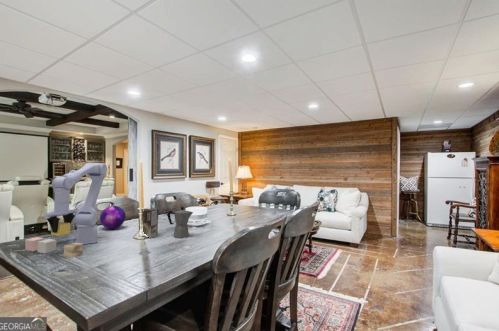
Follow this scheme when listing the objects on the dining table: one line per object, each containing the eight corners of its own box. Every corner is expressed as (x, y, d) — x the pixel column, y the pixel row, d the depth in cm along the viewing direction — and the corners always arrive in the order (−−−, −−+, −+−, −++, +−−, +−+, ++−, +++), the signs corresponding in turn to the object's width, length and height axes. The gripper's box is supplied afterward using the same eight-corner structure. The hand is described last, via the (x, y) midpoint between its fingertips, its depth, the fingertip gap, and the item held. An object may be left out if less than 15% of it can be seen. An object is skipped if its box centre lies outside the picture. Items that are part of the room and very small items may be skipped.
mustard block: (61, 232, 121) (62, 222, 121) (69, 233, 120) (70, 222, 120) (51, 234, 116) (51, 224, 116) (59, 236, 115) (59, 225, 115)
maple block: (73, 253, 119) (74, 242, 119) (82, 254, 117) (82, 243, 117) (63, 256, 114) (64, 245, 114) (72, 258, 113) (72, 247, 113)
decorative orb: (93, 230, 160) (94, 207, 160) (110, 225, 175) (111, 203, 175) (114, 232, 157) (115, 208, 157) (129, 226, 172) (130, 205, 172)
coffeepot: (192, 234, 159) (193, 205, 160) (192, 238, 150) (193, 208, 150) (167, 234, 156) (168, 205, 156) (165, 238, 147) (166, 208, 147)
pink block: (36, 247, 125) (36, 237, 125) (43, 248, 124) (44, 238, 124) (25, 250, 121) (25, 239, 121) (32, 251, 119) (33, 240, 119)
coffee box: (158, 235, 152) (159, 209, 153) (150, 238, 146) (151, 211, 146) (145, 234, 155) (146, 208, 156) (138, 236, 149) (139, 209, 149)
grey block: (48, 249, 123) (48, 238, 123) (56, 250, 122) (56, 240, 122) (37, 252, 118) (37, 241, 118) (45, 253, 117) (45, 242, 117)
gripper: (70, 200, 126) (68, 226, 126) (39, 203, 112) (37, 233, 112) (81, 200, 124) (79, 228, 124) (51, 204, 110) (49, 235, 110)
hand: (60, 231), depth 118 cm, fingers closed on mustard block, 5 cm apart
